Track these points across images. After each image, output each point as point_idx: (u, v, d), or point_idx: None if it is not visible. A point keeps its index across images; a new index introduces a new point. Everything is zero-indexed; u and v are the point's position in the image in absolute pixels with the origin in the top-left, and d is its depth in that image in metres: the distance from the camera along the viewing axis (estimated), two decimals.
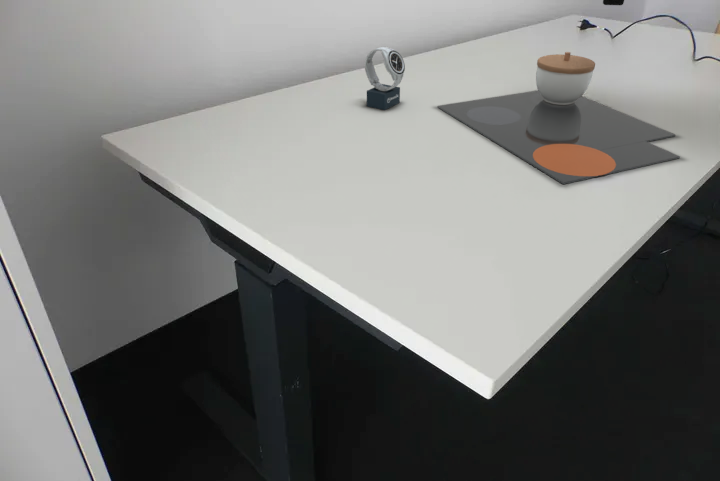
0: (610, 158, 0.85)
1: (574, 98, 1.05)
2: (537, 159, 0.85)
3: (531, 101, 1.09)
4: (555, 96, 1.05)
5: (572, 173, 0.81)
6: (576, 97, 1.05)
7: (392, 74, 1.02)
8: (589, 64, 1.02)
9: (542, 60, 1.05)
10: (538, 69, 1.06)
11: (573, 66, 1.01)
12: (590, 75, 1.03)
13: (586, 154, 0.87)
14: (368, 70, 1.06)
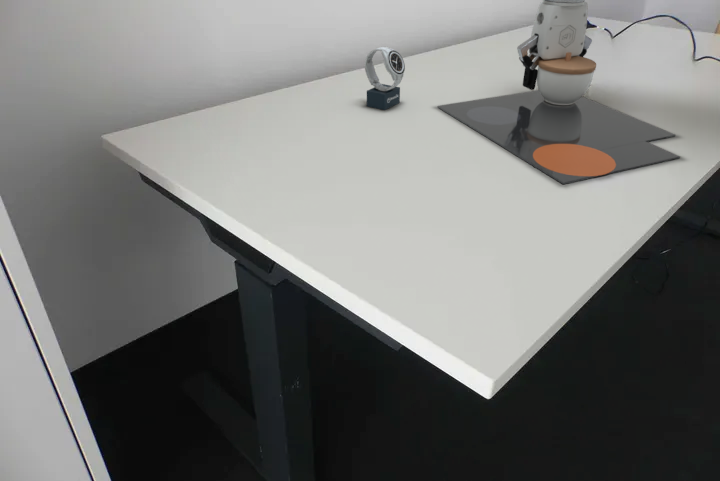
0: (610, 158, 0.85)
1: (575, 98, 1.05)
2: (537, 159, 0.85)
3: (531, 101, 1.09)
4: (556, 96, 1.04)
5: (572, 173, 0.81)
6: (577, 97, 1.05)
7: (392, 74, 1.02)
8: (590, 64, 1.02)
9: (543, 60, 1.05)
10: (539, 69, 1.05)
11: (574, 66, 1.01)
12: (591, 75, 1.03)
13: (586, 154, 0.87)
14: (368, 70, 1.06)
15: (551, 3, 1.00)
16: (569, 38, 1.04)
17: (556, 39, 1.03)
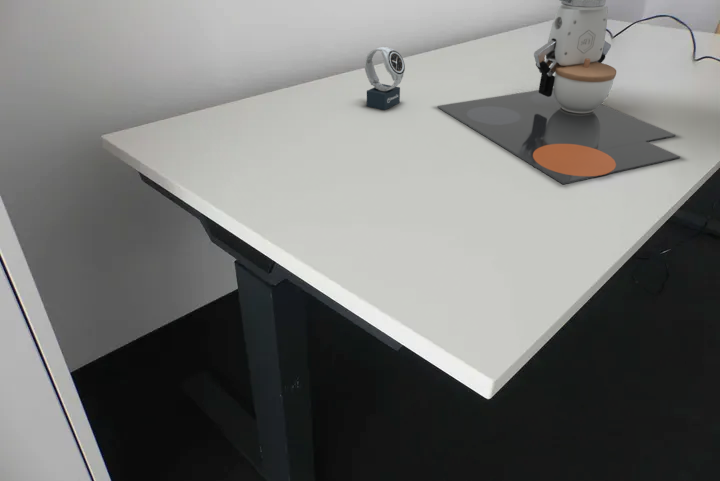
0: (610, 158, 0.85)
1: (594, 107, 1.01)
2: (537, 159, 0.85)
3: (531, 101, 1.09)
4: (574, 104, 1.00)
5: (572, 173, 0.81)
6: (596, 105, 1.01)
7: (392, 74, 1.02)
8: (610, 71, 0.98)
9: (561, 67, 1.01)
10: (556, 76, 1.01)
11: (594, 73, 0.97)
12: (611, 83, 0.98)
13: (586, 154, 0.87)
14: (368, 70, 1.06)
15: (570, 7, 0.96)
16: (588, 43, 1.00)
17: (575, 44, 0.99)
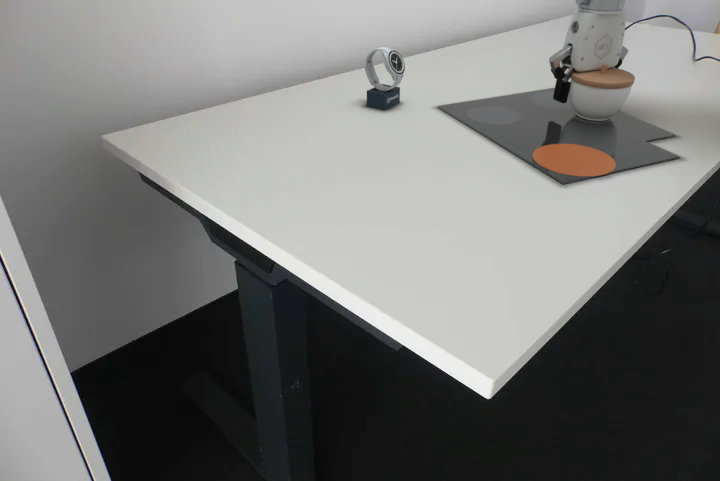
0: (610, 158, 0.85)
1: (611, 114, 0.97)
2: (537, 159, 0.85)
3: (531, 101, 1.09)
4: (591, 112, 0.97)
5: (572, 173, 0.81)
6: (613, 113, 0.97)
7: (392, 74, 1.02)
8: (629, 78, 0.95)
9: (577, 73, 0.97)
10: (572, 82, 0.98)
11: (612, 80, 0.94)
12: (629, 90, 0.95)
13: (586, 154, 0.87)
14: (368, 70, 1.06)
15: (587, 11, 0.93)
16: (605, 48, 0.96)
17: (592, 50, 0.95)
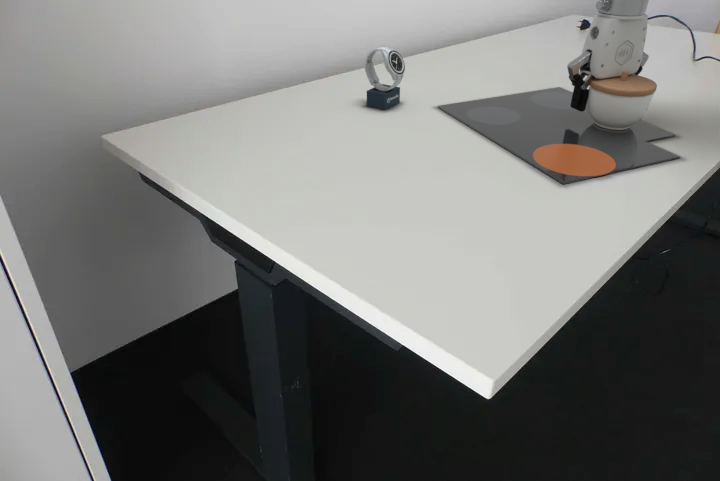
0: (610, 158, 0.85)
1: (632, 123, 0.93)
2: (537, 159, 0.85)
3: (531, 101, 1.09)
4: (611, 121, 0.93)
5: (572, 173, 0.81)
6: (634, 122, 0.93)
7: (392, 74, 1.02)
8: (651, 85, 0.91)
9: (596, 80, 0.94)
10: (591, 90, 0.94)
11: (633, 87, 0.90)
12: (651, 97, 0.91)
13: (586, 154, 0.87)
14: (368, 70, 1.06)
15: (608, 16, 0.89)
16: (626, 55, 0.92)
17: (612, 56, 0.91)
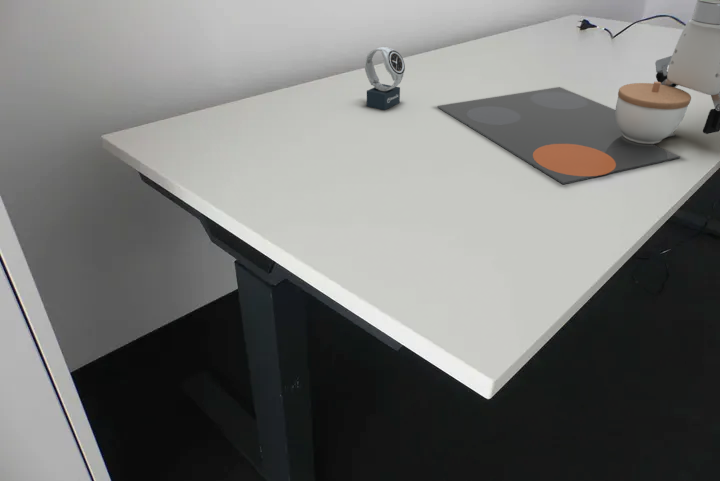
0: (610, 158, 0.85)
1: (664, 136, 0.88)
2: (537, 159, 0.85)
3: (531, 101, 1.09)
4: (642, 134, 0.88)
5: (572, 173, 0.81)
6: (667, 135, 0.88)
7: (392, 74, 1.02)
8: (685, 97, 0.86)
9: (626, 91, 0.88)
10: (621, 102, 0.89)
11: (667, 99, 0.84)
12: (685, 110, 0.86)
13: (586, 154, 0.87)
14: (368, 70, 1.06)
15: None
16: None
17: None
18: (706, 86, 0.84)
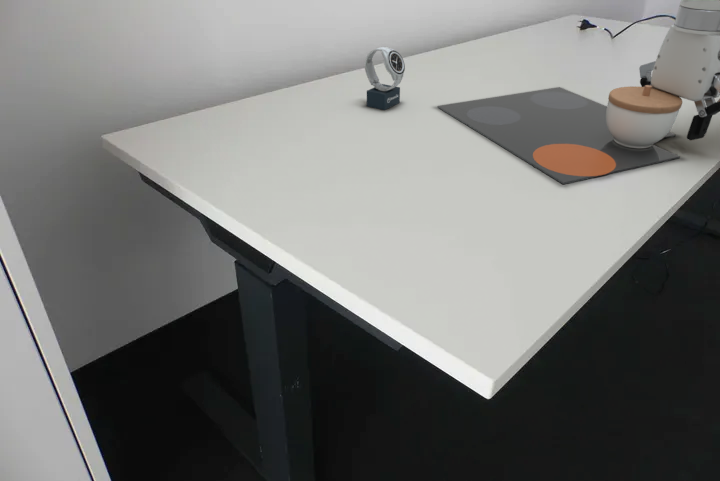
0: (610, 158, 0.85)
1: (657, 141, 0.87)
2: (537, 159, 0.85)
3: (531, 101, 1.09)
4: (635, 139, 0.86)
5: (572, 173, 0.81)
6: (659, 139, 0.87)
7: (392, 74, 1.02)
8: (676, 100, 0.84)
9: (617, 96, 0.86)
10: (612, 107, 0.87)
11: (659, 103, 0.83)
12: (677, 113, 0.85)
13: (586, 154, 0.87)
14: (368, 70, 1.06)
15: None
16: None
17: None
18: (689, 92, 0.83)
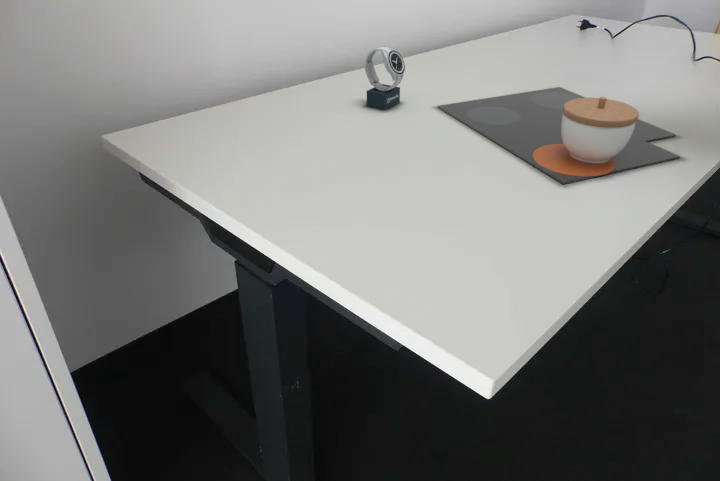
0: (610, 158, 0.85)
1: None
2: (537, 159, 0.85)
3: (531, 101, 1.09)
4: (598, 155, 0.81)
5: (572, 173, 0.81)
6: (619, 152, 0.83)
7: (392, 74, 1.02)
8: (633, 111, 0.80)
9: (574, 111, 0.81)
10: (571, 123, 0.81)
11: (620, 116, 0.78)
12: None
13: None
14: (368, 70, 1.06)
15: None
16: None
17: None
18: None
